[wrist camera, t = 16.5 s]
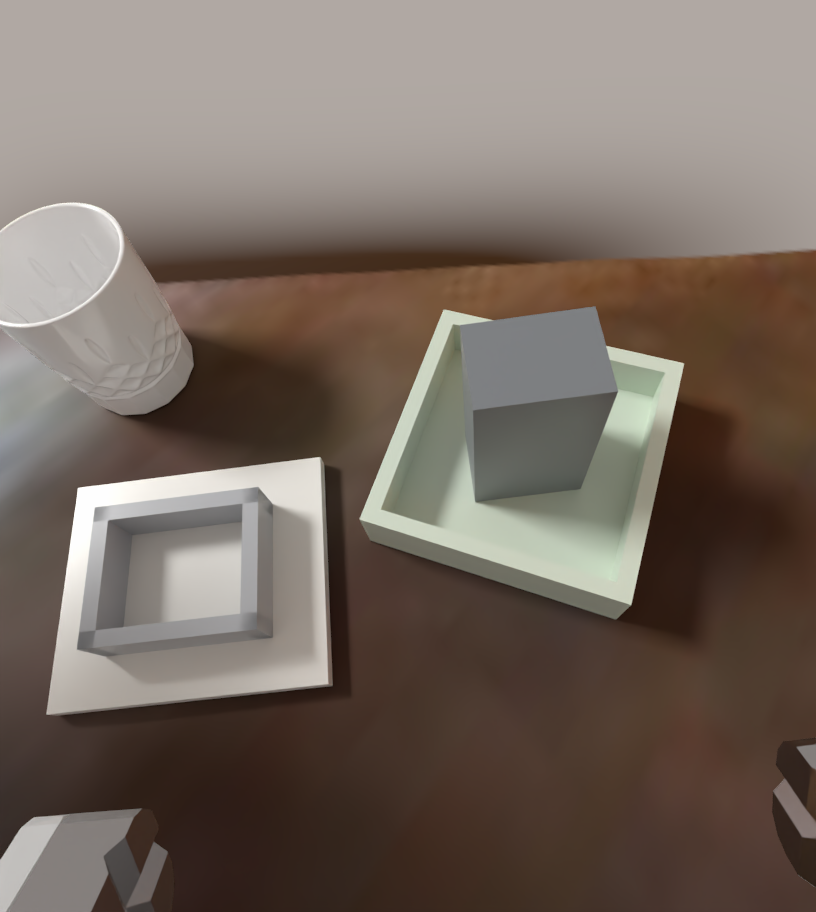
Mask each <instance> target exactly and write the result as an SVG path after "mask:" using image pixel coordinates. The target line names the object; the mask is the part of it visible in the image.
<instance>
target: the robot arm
mask: <svg viewBox="0 0 816 912" xmlns="http://www.w3.org/2000/svg"><path fill="white" fill-rule="evenodd" d="M776 766H777V767H778V769H779V770H780V772H781V773H782V775H783V776H784V778H785V779H784V780H783V781H782V782H781V784H780V785H779V786H778V787H777V788H776V789H775V790H774V791H773V807H772V813H773V817H774V821H775V826H776V830H777V834H778V837H779V839H780V842H781V844H782V846H783V849H784V851H785V853H786V855H787V857H788V859H789V860H790V862H791V864H792V865H793V867H794V869H795V871H796V872H797V874H798V875H799V876H800V877H802V878H803V879H804V880H806V881H807V882H809V883H810V884H811V885H813V886H814V887H816V738H808V739H800V740H791V741H783V743H782V744H781V745H780V747H779V748H778V751H777V759H776ZM158 829H159V826H158V823H157V821H156V819H155V816H154V814H153V812H152V809H143V808H142V809H129V810H115V811H102V812H88V813H75V814H68V815H56V816H44V817H34V818H32V819H31V820H30V821H29V822H27V823H26V824H25V825H24V826H22V827H21V828H20V830H19V831H18V833H17V834H16V836H15V838H14V839H13V841H12V842H11V844H10V845H9V847H8V849H7V850H6V852H5V853H4V855H3V857H2V858H1V860H0V912H171V910H172V902H173V894H174V886H175V882H174V872H173V865H172V862H171V859H170V856H169V853H168V852H167V851H166V850H165V849H163V848H162V847H160V846H159V845H158V844H156V843H155V842H154V839H155V837H156V834H157V832H158Z"/></svg>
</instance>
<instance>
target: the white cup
mask: <svg viewBox="0 0 816 912" xmlns="http://www.w3.org/2000/svg"><path fill="white" fill-rule="evenodd" d="M0 329H1V330H2V331H3V332H4V333H6V334H7V335H8V336H9V337H11V338H12V339H13V340H14V341H16V342H17V343H18V344H19V345H21V346H22V347H23V348H25V349H26V350H27V351H28V352H30V353H31V354H32V355H33V356H35V357H36V358H37V359H38V360H40V361H41V362H42V363H43V364H45V365H46V366H47V367H49V368H50V369H51V370H53V371H54V372H56V373H57V374H59V375H60V376H61V377H62V378H64V379H65V380H66V381H67V382H69V383H70V384H71V385H73V386H74V387H76V388H77V389H79V390H81V391H82V392H84V393H85V394H87V395H88V396H89V397H90V398H91V399H93V400H94V401H95V402H96V403H98V404H99V405H100V406H101V407H103V408H105V409H108V410H110V411H113V412H115V413H117V414H120V415H136V414H147V413H149V412H151V411H153V410H155V409H157V408H159V407H162V406H164V405H166V404H168V403H169V402H170V401H171V400H172V399H173V398H174V397H175V396H176V395H177V394H178V393H179V392H180V391H181V390H182V389H183V388H184V387H185V386H186V384H187V381H188V379H189V376H190V374H191V371H192V369H193V366H194V363H193V354H192V346H191V344H190V342H189V341H188V339H187V338H186V336H185V334H184V333H183V331H182V330H181V328H180V327H179V325H178V323H177V322H176V319H175V317H174V315H173V312H172V310H171V309H170V307H169V305H168V303H167V302H166V300H165V298H164V297H163V295H162V293H161V292H160V290H159V288H158V286H157V284H156V283H155V281H154V279H153V278H152V276H151V275H150V273H149V271H148V270H147V268H146V267H145V265H144V263H143V262H142V260H141V259H140V257H139V256H138V254H137V252H136V251H135V249H134V248H133V246H132V244H131V243H130V241H129V239H128V238H127V236H126V235H125V233H124V231H123V230H122V228H121V226H120V225H119V223H118V222H117V220H116V219H115V218H114V217H113V216H112V215H111V214H109V213H108V212H106V211H105V210H103V209H101V208H99V207H96V206H93V205H89V204H84V203H60V204H54V205H50V206H45V207H42V208H39V209H36V210H34V211H31V212H29V213H27V214H25V215H23V216H21V217H19V218H17V219H16V220H14V221H12V222H11V223H10V224H8V225H7V226H5V227H4V228H3V229H2V230H0Z"/></svg>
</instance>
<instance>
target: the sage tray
mask: <svg viewBox="0 0 816 912" xmlns="http://www.w3.org/2000/svg"><path fill="white" fill-rule="evenodd" d="M486 321H493V320H489V319H484V318H480V317H475V316H471V315H466V314H462V313H458V312H453V311H449V310H443V313H442V315H441V318H440V320H439V323H438V325H437V328H436V330H435V333H434V335H433V338H432V340H431V343H430V345H429V348H428V350H427V353H426V355H425V358H424V360H423V363H422V365H421V368H420V370H419V373H418V375H417V378H416V380H415V383H414V385H413V388H412V390H411V393H410V395H409V398H408V400H407V402H406V405H405V407H404V410H403V412H402V415H401V417H400V420H399V422H398V425H397V427H396V430H395V432H394V435H393V437H392V440H391V442H390V445H389V447H388V450H387V452H386V455H385V457H384V460H383V462H382V465H381V467H380V470H379V472H378V475H377V477H376V480H375V482H374V485H373V487H372V490H371V492H370V495H369V497H368V500H367V502H366V505H365V507H364V510H363V512H362V515H361V517H360V521H361V523H362V525H363V527H364V529H365V531H366V533H367V535H368V536H369V538H370V540H371V541H373V542H376V543H379V544H383V545H386V546H389V547H392V548H395V549H398V550H401V551H404V552H407V553H411V554H414V555H417V556H420V557H423V558H426V559H429V560H432V561H435V562H438V563H442V564H445V565H448V566H451V567H454V568H457V569H460V570H463V571H466V572H470V573H473V574H476V575H479V576H482V577H485V578H488V579H491V580H494V581H497V582H501V583H504V584H507V585H510V586H513V587H516V588H519V589H522V590H525V591H529V592H532V593H535V594H538V595H541V596H544V597H547V598H550V599H553V600H556V601H560V602H563V603H566V604H569V605H572V606H575V607H578V608H581V609H584V610H588V611H591V612H594V613H597V614H600V615H603V616H606V617H609V618H612V619H615V620H616V619H617V618H618V617H619V616H620V615H621V614H622V613H623V612H624V611H625V610H627V609H628V608H629V607H630V606H631V604H632V599H633V595H634V590H635V586H636V581H637V576H638V572H639V567H640V563H641V558H642V554H643V549H644V544H645V540H646V535H647V531H648V526H649V522H650V517H651V512H652V508H653V503H654V499H655V494H656V490H657V485H658V480H659V476H660V471H661V467H662V462H663V458H664V453H665V448H666V444H667V439H668V435H669V430H670V426H671V421H672V416H673V412H674V407H675V403H676V398H677V394H678V389H679V384H680V380H681V375H682V371H683V366H684V363H680V362H675V361H671V360H666V359H662V358H658V357H653V356H649V355H644V354H640V353H635V352H631V351H626V350H622V349H618V348H613V347H609V346H606V348H607V351H608V355H609V359H610V362H611V366H612V370H613V374H614V377H615V381H616V385H617V388H618V393H617V396H616V399H615V401H614V404H613V406H612V409H611V411H610V414H609V417H608V419H607V422H606V424H605V427H604V430H603V432H602V435H601V437H600V440H599V442H598V445H597V448H596V450H595V453H594V455H593V458H592V461H591V463H590V466H589V468H588V471H587V474H586V476H585V479H584V481H583V484H582V486H581V489H577V490H569V491H561V492H552V493H544V494H536V495H528V496H520V497H512V498H503V499H495V500H487V501H479V502H475V498H474V491H473V485H472V478H471V471H470V464H469V457H468V450H467V444H466V437H465V420H464V400H463V379H462V358H461V337H460V325H465V324H472V323H479V322H486Z"/></svg>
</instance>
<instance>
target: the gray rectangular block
mask: <svg viewBox="0 0 816 912" xmlns="http://www.w3.org/2000/svg"><path fill="white" fill-rule="evenodd" d="M460 337H461V358H462V379H463V400H464V420H465V437H466V444H467V450H468V457H469V464H470V471H471V478H472V485H473V491H474V498H475V502H479V501H487V500H495V499H503V498H512V497H520V496H528V495H536V494H544V493H552V492H561V491H569V490H577V489H581V486H582V484H583V481H584V479H585V476H586V474H587V471H588V468H589V466H590V463H591V461H592V458H593V455H594V453H595V450H596V448H597V445H598V442H599V440H600V437H601V435H602V432H603V430H604V427H605V424H606V422H607V419H608V417H609V414H610V411H611V409H612V406H613V404H614V401H615V399H616V396H617V393H618V388H617V385H616V381H615V377H614V374H613V370H612V366H611V362H610V359H609V355H608V351H607V348H606V344H605V340H604V337H603V333H602V329H601V326H600V322H599V318H598V314H597V311H596V307H588V308H580V309H573V310H566V311H559V312H551V313H544V314H537V315H530V316H522V317H515V318H508V319H501V320H494V321H486V322H479V323H472V324H465V325H460Z"/></svg>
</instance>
